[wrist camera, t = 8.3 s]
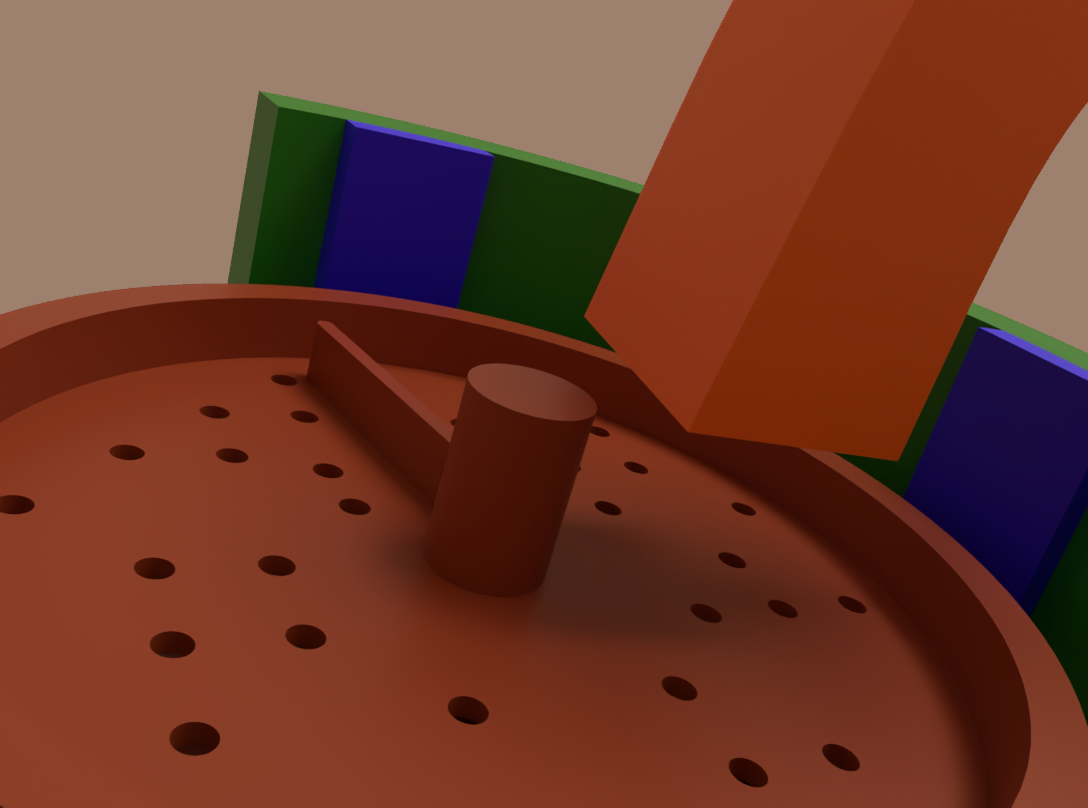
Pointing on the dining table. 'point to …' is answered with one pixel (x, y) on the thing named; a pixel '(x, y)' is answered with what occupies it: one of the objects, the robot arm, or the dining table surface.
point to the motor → (578, 460)
